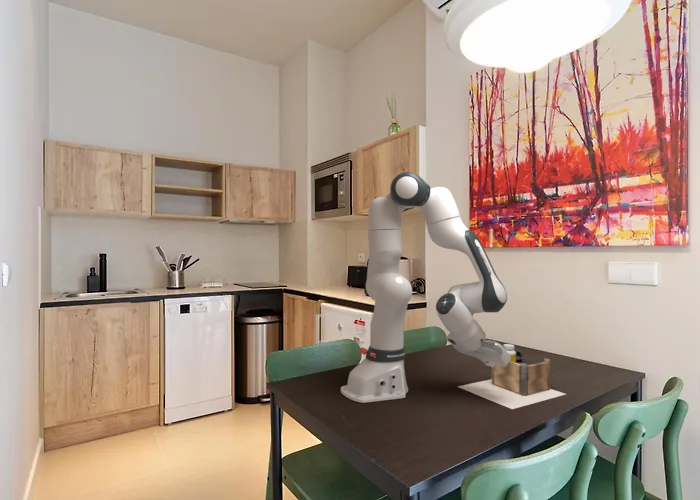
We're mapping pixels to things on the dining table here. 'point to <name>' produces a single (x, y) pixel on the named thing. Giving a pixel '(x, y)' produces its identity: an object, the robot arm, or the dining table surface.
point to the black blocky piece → (520, 354)
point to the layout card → (508, 394)
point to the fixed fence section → (535, 377)
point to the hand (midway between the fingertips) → (490, 364)
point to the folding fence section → (507, 376)
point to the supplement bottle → (510, 351)
